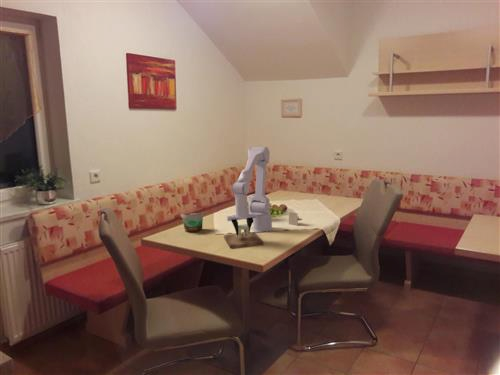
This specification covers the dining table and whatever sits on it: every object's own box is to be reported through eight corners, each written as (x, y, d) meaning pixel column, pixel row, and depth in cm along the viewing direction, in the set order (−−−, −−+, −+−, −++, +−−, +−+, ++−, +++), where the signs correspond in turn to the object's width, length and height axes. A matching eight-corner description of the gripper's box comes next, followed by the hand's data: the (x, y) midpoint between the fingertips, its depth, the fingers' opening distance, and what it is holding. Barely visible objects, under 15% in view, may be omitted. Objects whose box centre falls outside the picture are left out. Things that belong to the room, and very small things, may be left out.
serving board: (254, 234, 214) (254, 231, 213) (263, 244, 198) (263, 241, 198) (224, 238, 210) (223, 235, 210) (230, 248, 195) (230, 245, 194)
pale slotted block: (246, 234, 207) (245, 224, 206) (248, 237, 202) (248, 226, 201) (236, 235, 206) (236, 225, 205) (238, 238, 201) (238, 227, 200)
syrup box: (253, 217, 245) (252, 193, 242) (261, 219, 241) (260, 194, 238) (247, 220, 241) (246, 195, 238) (255, 221, 237) (254, 196, 234)
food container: (183, 234, 219) (182, 216, 217) (182, 231, 224) (180, 213, 222) (206, 231, 222) (205, 213, 220) (204, 228, 228) (203, 210, 226)
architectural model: (292, 223, 232) (291, 210, 231) (302, 225, 228) (302, 212, 227) (288, 225, 230) (288, 211, 228) (299, 226, 225) (299, 213, 224)
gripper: (228, 210, 195) (229, 237, 198) (258, 207, 198) (259, 234, 201) (225, 206, 202) (226, 233, 205) (254, 203, 205) (255, 230, 208)
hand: (242, 233), depth 203 cm, fingers closed on pale slotted block, 5 cm apart
